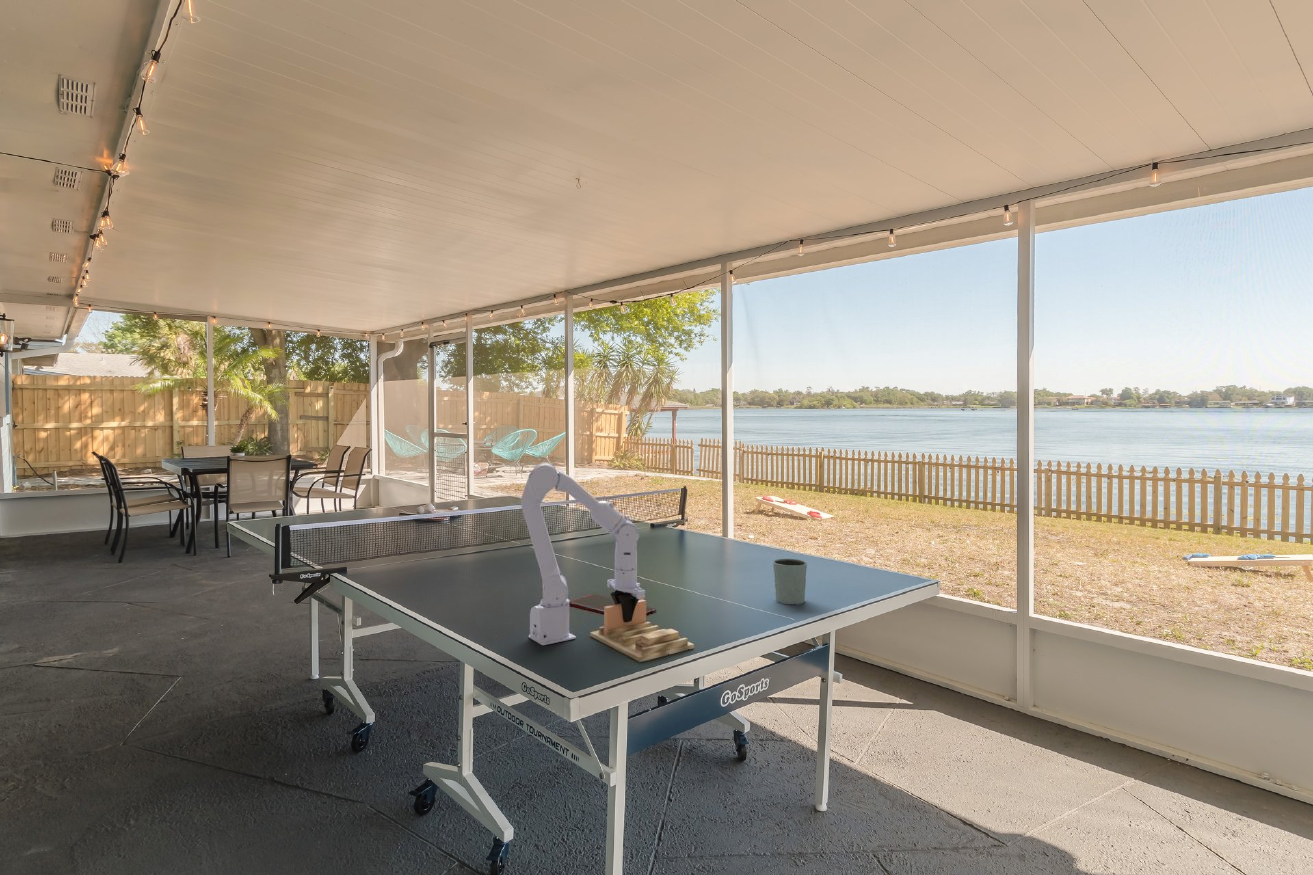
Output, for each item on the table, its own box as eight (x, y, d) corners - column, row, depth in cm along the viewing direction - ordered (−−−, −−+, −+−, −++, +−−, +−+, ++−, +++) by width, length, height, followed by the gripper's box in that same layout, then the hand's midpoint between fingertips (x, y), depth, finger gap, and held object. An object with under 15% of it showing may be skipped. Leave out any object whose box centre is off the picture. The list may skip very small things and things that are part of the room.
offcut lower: (643, 652, 159) (643, 646, 159) (635, 648, 162) (635, 642, 162) (680, 643, 166) (680, 637, 166) (672, 639, 168) (672, 633, 168)
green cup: (806, 606, 203) (807, 566, 202) (771, 604, 205) (772, 564, 204) (805, 597, 213) (806, 559, 212) (773, 595, 215) (773, 557, 214)
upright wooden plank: (607, 635, 171) (607, 608, 171) (603, 634, 172) (604, 606, 172) (646, 627, 178) (646, 600, 178) (642, 625, 179) (642, 599, 179)
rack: (639, 661, 156) (639, 651, 156) (590, 636, 174) (590, 626, 174) (693, 648, 166) (693, 638, 165) (641, 624, 183) (641, 615, 183)
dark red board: (632, 618, 187) (566, 601, 202) (631, 624, 187) (566, 606, 202) (658, 608, 196) (594, 592, 211) (658, 613, 196) (594, 597, 211)
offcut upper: (648, 645, 160) (648, 638, 160) (641, 641, 163) (641, 635, 162) (678, 637, 165) (678, 631, 165) (671, 634, 168) (671, 628, 168)
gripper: (655, 571, 171) (654, 624, 172) (623, 560, 183) (622, 611, 183) (631, 575, 167) (631, 629, 168) (600, 564, 179) (600, 615, 179)
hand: (625, 620), depth 175 cm, fingers closed on upright wooden plank, 2 cm apart
